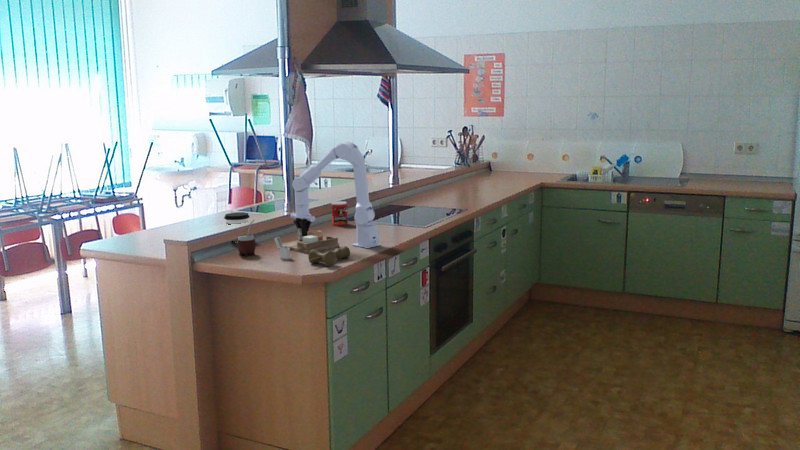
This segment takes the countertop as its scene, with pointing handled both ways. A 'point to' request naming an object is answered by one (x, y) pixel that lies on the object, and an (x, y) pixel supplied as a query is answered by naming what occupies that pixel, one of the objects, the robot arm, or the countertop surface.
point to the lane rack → (312, 245)
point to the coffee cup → (236, 218)
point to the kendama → (329, 256)
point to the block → (309, 239)
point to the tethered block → (313, 233)
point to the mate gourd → (246, 243)
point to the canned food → (339, 213)
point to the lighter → (282, 249)
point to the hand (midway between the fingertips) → (303, 236)
